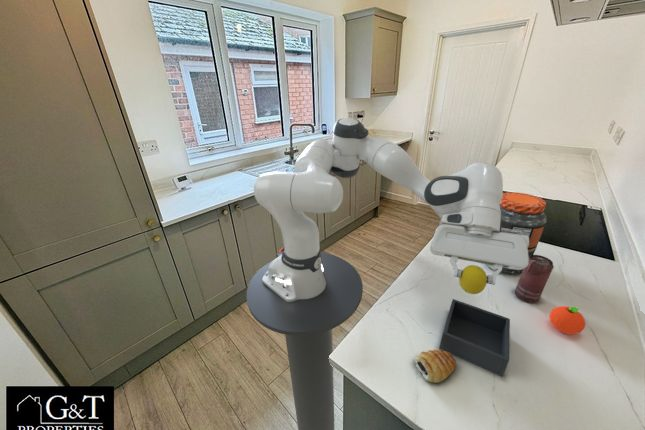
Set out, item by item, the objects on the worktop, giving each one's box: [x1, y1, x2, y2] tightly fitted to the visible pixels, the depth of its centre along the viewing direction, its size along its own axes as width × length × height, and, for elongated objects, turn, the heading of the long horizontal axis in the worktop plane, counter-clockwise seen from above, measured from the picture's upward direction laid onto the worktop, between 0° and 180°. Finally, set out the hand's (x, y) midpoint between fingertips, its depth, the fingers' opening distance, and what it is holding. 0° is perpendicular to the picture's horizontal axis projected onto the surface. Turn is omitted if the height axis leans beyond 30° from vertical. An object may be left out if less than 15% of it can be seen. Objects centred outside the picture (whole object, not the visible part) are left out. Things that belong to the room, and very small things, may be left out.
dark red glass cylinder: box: [514, 254, 554, 304], centre depth 78 cm, size 6×6×14 cm
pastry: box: [413, 349, 457, 384], centre depth 61 cm, size 9×7×4 cm
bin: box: [438, 298, 511, 377], centre depth 67 cm, size 14×14×6 cm
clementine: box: [549, 305, 586, 335], centre depth 69 cm, size 8×7×7 cm
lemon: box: [458, 264, 488, 295], centre depth 61 cm, size 6×6×8 cm
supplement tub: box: [484, 191, 548, 275], centre depth 91 cm, size 16×16×26 cm
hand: (473, 280), depth 61 cm, fingers closed on lemon, 5 cm apart
